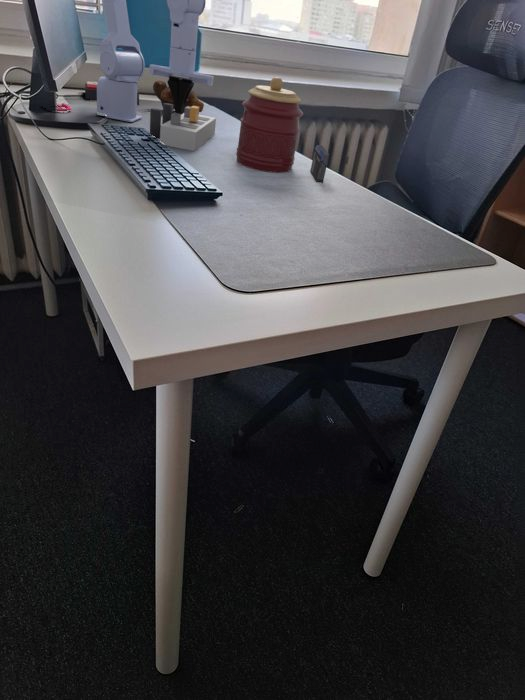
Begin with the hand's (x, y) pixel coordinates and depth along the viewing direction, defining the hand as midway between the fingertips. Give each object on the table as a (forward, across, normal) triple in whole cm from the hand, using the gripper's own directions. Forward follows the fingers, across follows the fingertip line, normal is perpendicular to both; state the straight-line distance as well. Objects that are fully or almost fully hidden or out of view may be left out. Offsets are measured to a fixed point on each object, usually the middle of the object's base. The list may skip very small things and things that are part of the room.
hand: (179, 113), depth 121 cm
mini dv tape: (+5, +35, -13) cm, 38 cm away
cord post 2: (+5, -4, +5) cm, 8 cm away
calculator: (+6, -29, +33) cm, 45 cm away
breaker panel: (+5, +3, 0) cm, 6 cm away
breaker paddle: (+1, +4, 0) cm, 4 cm away
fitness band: (+6, -32, +4) cm, 33 cm away
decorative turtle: (+6, -8, +30) cm, 32 cm away
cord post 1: (+5, -4, -5) cm, 8 cm away
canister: (+5, +23, -11) cm, 26 cm away
